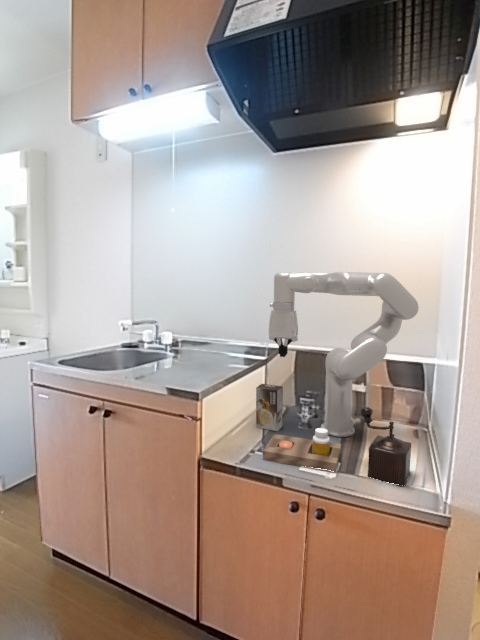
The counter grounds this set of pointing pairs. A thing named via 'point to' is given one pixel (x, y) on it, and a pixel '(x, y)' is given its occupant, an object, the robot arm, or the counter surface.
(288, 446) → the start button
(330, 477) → the counter surface
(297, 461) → the board
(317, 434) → the supplement bottle
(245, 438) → the counter surface
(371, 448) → the manual coffee grinder
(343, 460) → the counter surface
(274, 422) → the coffee box
